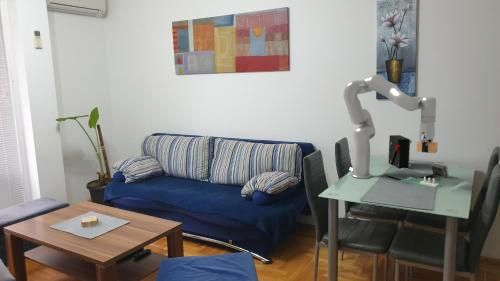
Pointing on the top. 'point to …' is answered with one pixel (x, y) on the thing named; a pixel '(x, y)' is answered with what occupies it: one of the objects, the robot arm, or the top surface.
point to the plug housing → (431, 147)
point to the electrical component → (399, 151)
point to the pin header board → (425, 182)
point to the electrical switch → (440, 169)
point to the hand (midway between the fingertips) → (426, 151)
